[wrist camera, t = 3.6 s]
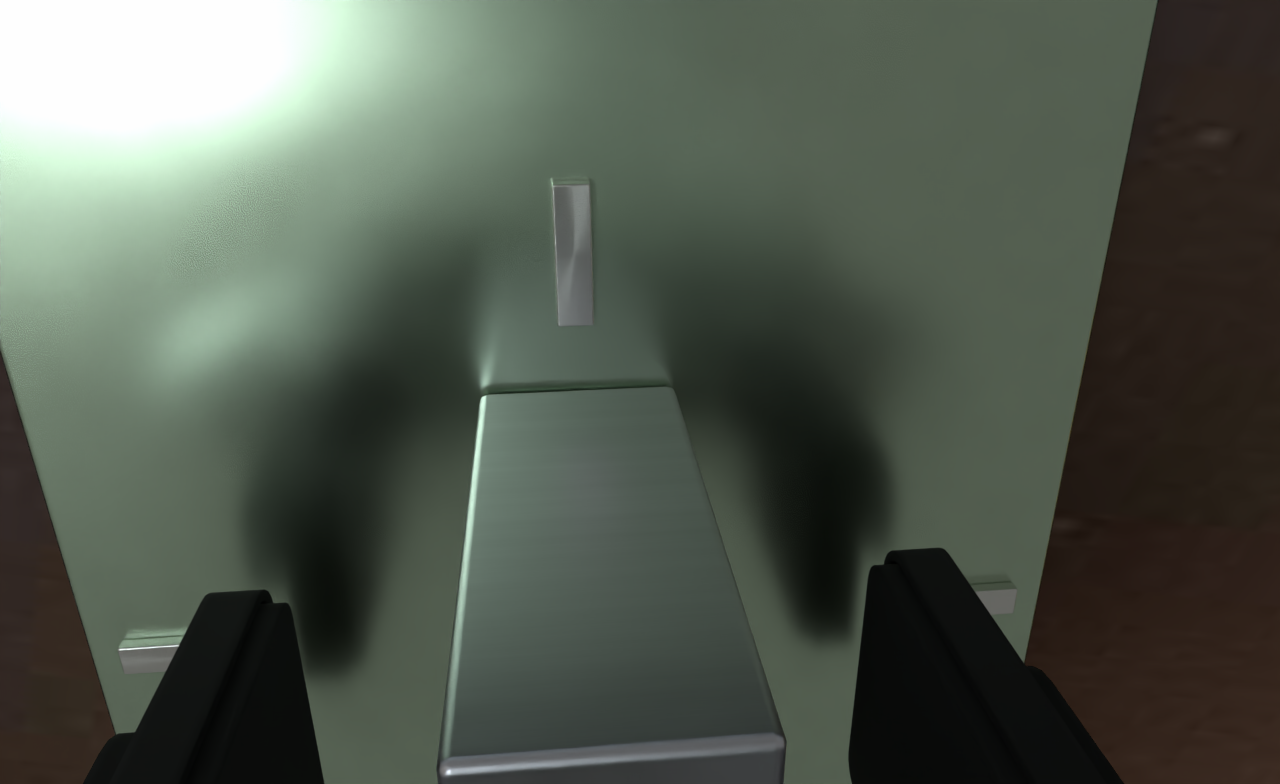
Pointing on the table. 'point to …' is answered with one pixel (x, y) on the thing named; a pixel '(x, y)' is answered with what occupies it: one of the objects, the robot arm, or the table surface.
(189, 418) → the lever panel
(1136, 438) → the table surface
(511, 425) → the grey rectangular block
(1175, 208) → the table surface
